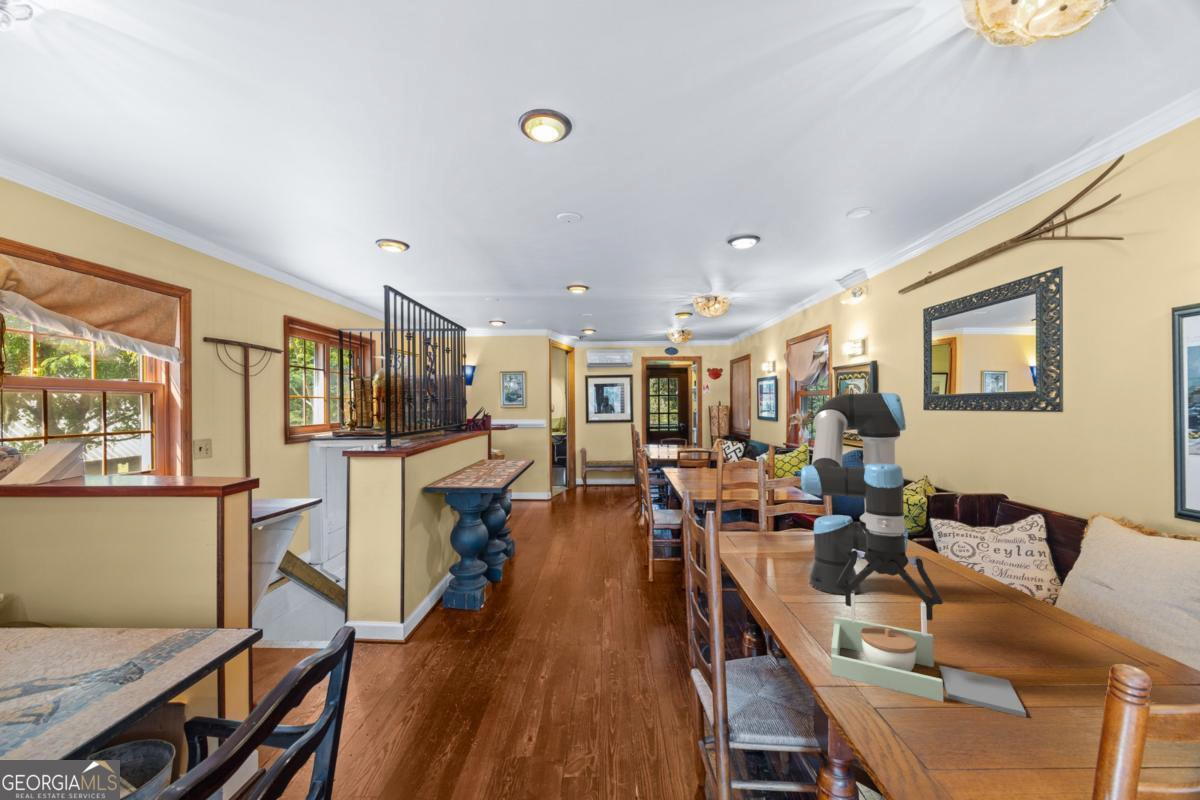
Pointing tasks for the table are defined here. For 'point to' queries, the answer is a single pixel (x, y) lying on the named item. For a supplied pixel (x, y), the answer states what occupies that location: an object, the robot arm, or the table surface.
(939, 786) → the table surface
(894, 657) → the lidded jar
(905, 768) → the table surface
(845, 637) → the frame
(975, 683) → the slate tile
